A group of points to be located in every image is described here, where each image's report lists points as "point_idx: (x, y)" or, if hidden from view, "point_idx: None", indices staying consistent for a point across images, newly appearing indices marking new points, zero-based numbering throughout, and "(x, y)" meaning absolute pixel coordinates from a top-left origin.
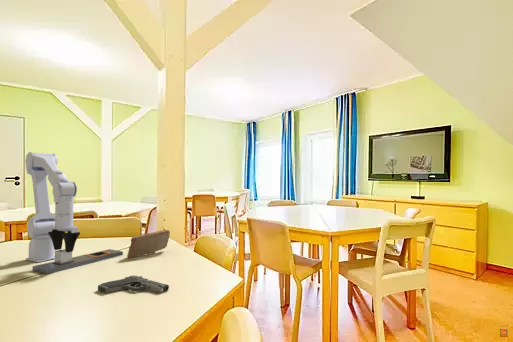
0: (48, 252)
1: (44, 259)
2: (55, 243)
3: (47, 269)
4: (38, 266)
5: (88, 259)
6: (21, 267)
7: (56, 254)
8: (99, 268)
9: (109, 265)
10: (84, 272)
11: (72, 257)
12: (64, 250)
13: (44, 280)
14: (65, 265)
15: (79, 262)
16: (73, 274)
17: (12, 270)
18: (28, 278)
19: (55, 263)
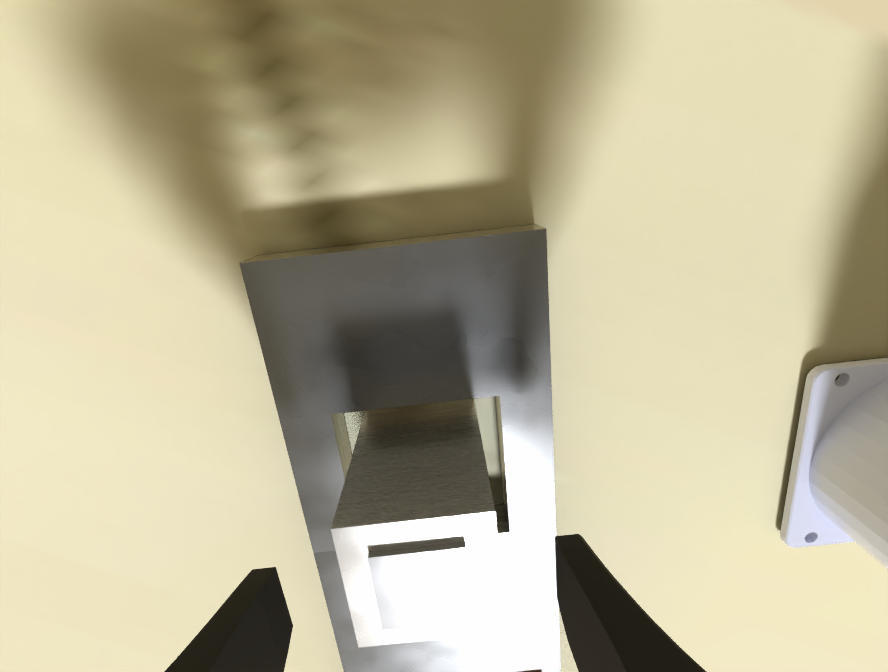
0: (871, 512)
1: (821, 436)
2: (597, 630)
3: (246, 279)
4: (475, 267)
5: (343, 634)
6: (784, 198)
7: (447, 487)
8: (106, 589)
9: (144, 659)
10: (60, 480)
11: (554, 589)
12: (377, 586)
13: (22, 162)
14: (287, 448)
15: (317, 560)
16: (58, 405)
17: (750, 87)
18: (233, 82)
19: (458, 421)
